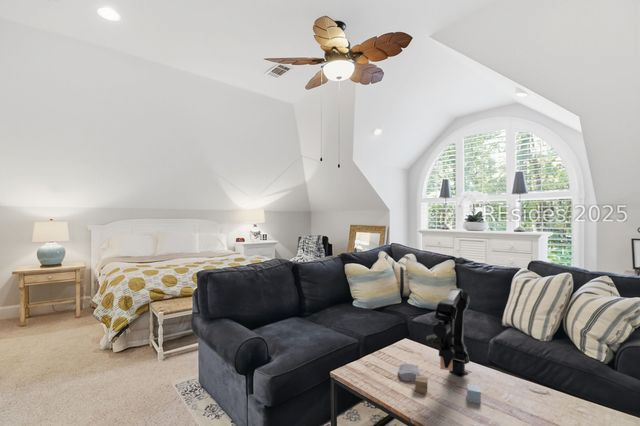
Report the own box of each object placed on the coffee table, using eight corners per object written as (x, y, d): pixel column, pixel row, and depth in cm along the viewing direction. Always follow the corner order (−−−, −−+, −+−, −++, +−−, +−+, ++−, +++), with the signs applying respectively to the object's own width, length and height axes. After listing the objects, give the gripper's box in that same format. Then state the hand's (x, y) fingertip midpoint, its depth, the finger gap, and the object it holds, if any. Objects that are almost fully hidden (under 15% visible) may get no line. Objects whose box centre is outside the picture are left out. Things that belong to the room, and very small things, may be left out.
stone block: (400, 384, 158) (421, 382, 156) (398, 374, 158) (419, 372, 156) (399, 373, 170) (419, 371, 168) (397, 363, 170) (417, 361, 168)
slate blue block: (466, 395, 145) (466, 384, 145) (479, 397, 144) (479, 386, 144) (467, 401, 141) (467, 390, 141) (480, 404, 139) (480, 392, 139)
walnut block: (416, 385, 153) (416, 375, 153) (427, 388, 151) (427, 377, 151) (415, 391, 148) (415, 380, 148) (426, 393, 147) (427, 382, 147)
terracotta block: (440, 363, 150) (440, 353, 150) (452, 365, 149) (452, 354, 149) (440, 368, 146) (440, 357, 146) (452, 370, 144) (452, 359, 144)
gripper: (428, 321, 158) (428, 353, 159) (426, 335, 141) (426, 371, 141) (453, 324, 155) (453, 357, 155) (454, 339, 137) (454, 376, 137)
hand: (446, 364), depth 147 cm, fingers closed on terracotta block, 5 cm apart
